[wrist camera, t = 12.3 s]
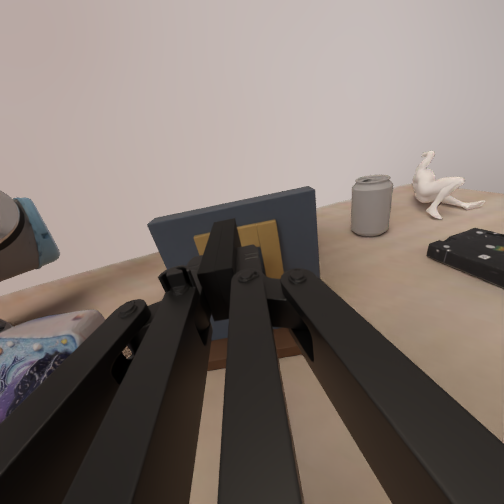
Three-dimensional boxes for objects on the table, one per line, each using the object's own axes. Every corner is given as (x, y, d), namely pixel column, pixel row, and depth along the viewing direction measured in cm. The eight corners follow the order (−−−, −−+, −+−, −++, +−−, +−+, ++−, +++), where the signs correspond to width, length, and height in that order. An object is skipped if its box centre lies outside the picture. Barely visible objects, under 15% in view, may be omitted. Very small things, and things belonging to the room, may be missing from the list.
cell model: (102, 287, 25) (-136, 603, 8) (140, 345, 31) (47, 615, 13) (-12, 316, 24) (-575, 749, 7) (47, 371, 30) (-190, 701, 12)
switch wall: (332, 348, 24) (327, 196, 16) (199, 372, 25) (131, 236, 17) (303, 287, 35) (292, 176, 27) (211, 304, 36) (173, 201, 28)
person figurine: (508, 158, 41) (426, 143, 55) (445, 186, 41) (380, 165, 55) (487, 213, 48) (420, 188, 63) (434, 236, 49) (380, 206, 63)
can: (361, 222, 53) (364, 173, 47) (394, 228, 47) (401, 172, 42) (344, 233, 50) (344, 181, 44) (377, 241, 44) (382, 182, 38)
